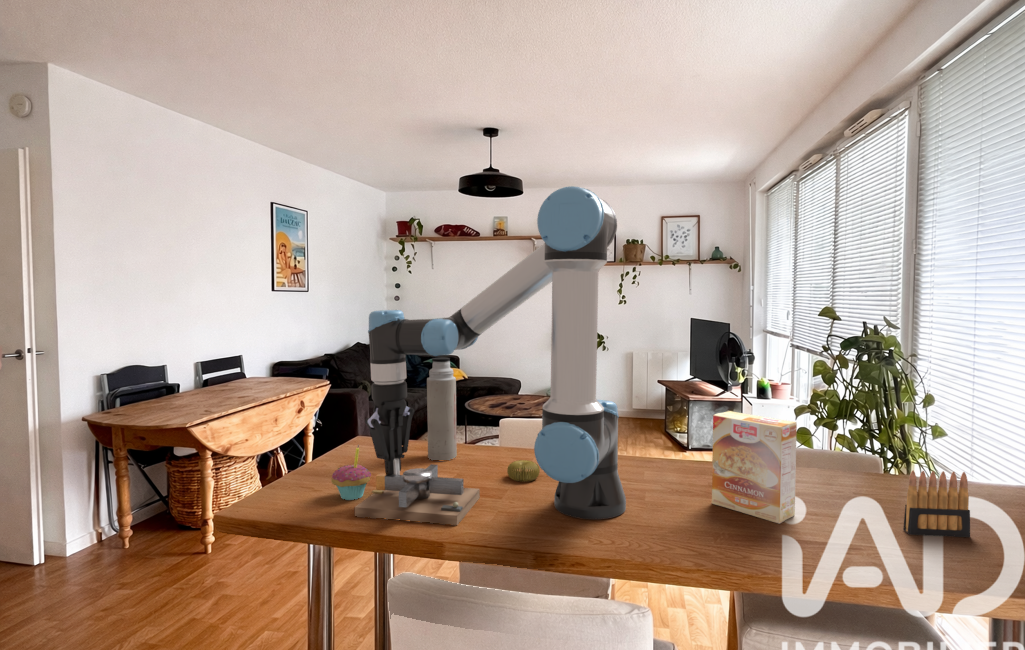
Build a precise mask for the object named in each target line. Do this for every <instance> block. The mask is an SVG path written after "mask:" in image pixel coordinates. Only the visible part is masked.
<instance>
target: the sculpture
mask: <svg viewBox="0 0 1025 650" xmlns="http://www.w3.org/2000/svg"><path fill="white" fill-rule="evenodd" d="M540 471H541V470H540V466H539V464H538V463H536V462H534V461H532V460H526V459H525V460H524V459H520V460H515V461H512V462H511V463H509V465H508V466H507V475H508V477H509V478H510V479H511V480H512V481H515V482H519V481H520V483H521V482H522V483H524V482H525V483H526V482H532V481H534V480H536V479H538V477H539V475H540V473H541V472H540Z"/></svg>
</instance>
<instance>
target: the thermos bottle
mask: <svg viewBox="0 0 1025 650" xmlns="http://www.w3.org/2000/svg"><path fill="white" fill-rule="evenodd" d="M450 359H451V357H443V356H442V357H441V356H437V357H432V358H431V361H432V368H430V369H429V373H428V375H429V377H427V378H426V390H427V391H426V399H427V400H426V401H427V402H426V405H427V408H426V411H427V458H429V459H428V460H430V459H431V460H430V461H433V460H449V461H451V460H450V459H453V458H455V457H456V456H457V451H458V450H457V446H458V445H457V443H458V441H457V378H456V377H455V376H454V374H455V372H454V369H453V368H452V367H451V360H450ZM456 458H457V457H456ZM456 458H455V459H456ZM453 460H454V459H453Z"/></svg>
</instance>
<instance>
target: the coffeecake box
mask: <svg viewBox="0 0 1025 650" xmlns="http://www.w3.org/2000/svg"><path fill="white" fill-rule="evenodd" d="M797 426H798V425H797V421H790V420H787V419H786V420H785V419H779V418H774V417H773V418H772V417H767V416H761V415H755V414H749V413H744V412H743V413H742V412H738V411H730V410H729V411H728V410H727V411H725V412H719V413H715V414H712V457H711V458H712V461H711V462H712V463H711V464H712V467H711V469H712V470H711V471H712V472H711V473H712V474H711V504H713V505H716V506H719V507H723V508H726V509H729V510H733V511H736V512H738V513H743V514H746V515H750V516H752V517H757V518H759V519H762V520H765V521H769V522H773V523H775V524H779V525H780V524H782V523H783V522H785V521H787V520H788V519H791V518H792V517H795V515H796V513H795V512H796V507H795V506H796V472H797V471H796V470H797V468H796V466H797V464H796V463H797V429H798V428H797Z"/></svg>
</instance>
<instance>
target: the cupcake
mask: <svg viewBox="0 0 1025 650" xmlns="http://www.w3.org/2000/svg"><path fill="white" fill-rule="evenodd" d="M359 446H360V445H359V444H358V445H357V446H356V448H355V454H354V463H353V464H347V465H344V466H343V465H342V466H339V468H337V469H336V470H335V471H334V472H333V473H332V474H331V479H330V481H331V484H333V485H334V486H336V488H337V490H338V493H339V495H340V498H341V499H342V500H344V499H345V501H353V500H354V499H355V500H358V498H359V499H361V498H362V497H363V495H364V493H365V490H366V489H365V488H366V486H367V483H369V482H370V481H371V476H372V474H371V471H370V470H369V469H368V468H366V467H365V466H363V465H361V464H358V460H359V452H360V448H359ZM355 500H354V501H355Z"/></svg>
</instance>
